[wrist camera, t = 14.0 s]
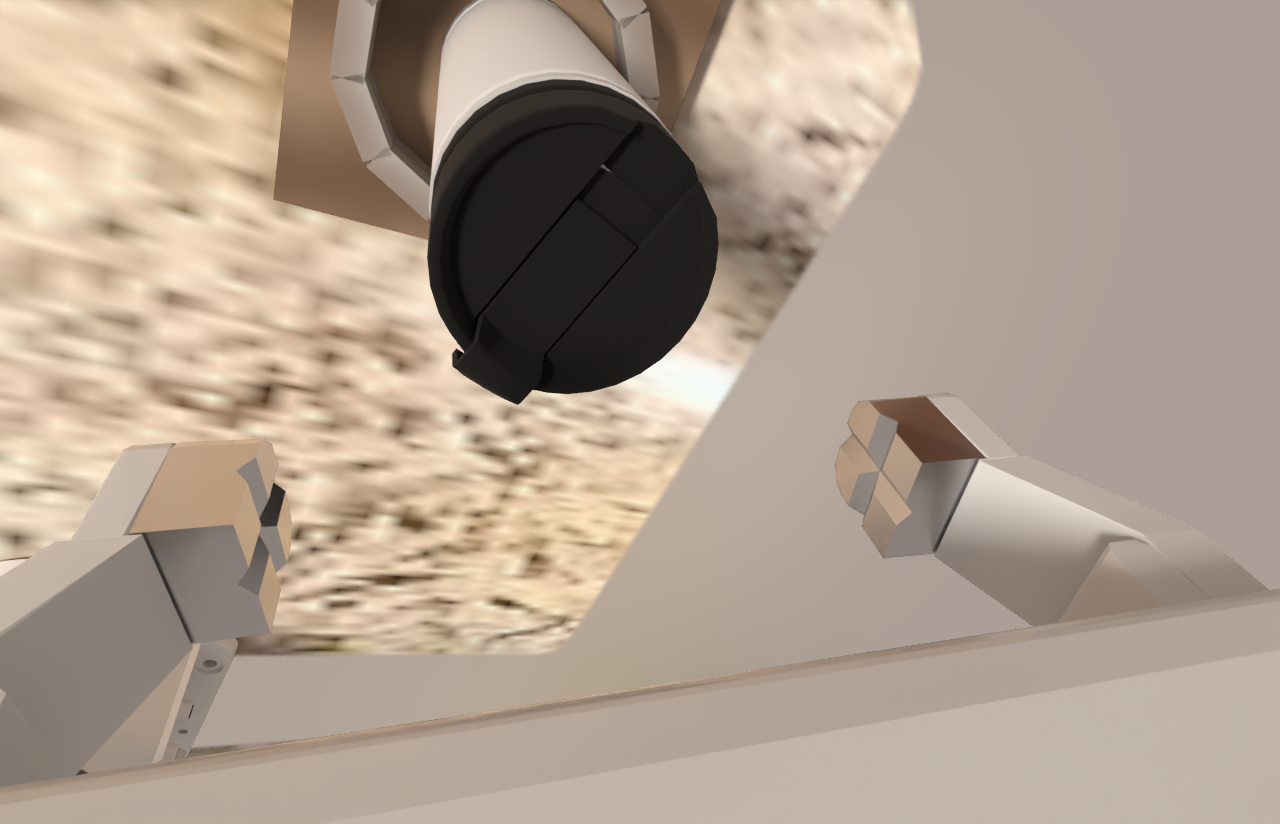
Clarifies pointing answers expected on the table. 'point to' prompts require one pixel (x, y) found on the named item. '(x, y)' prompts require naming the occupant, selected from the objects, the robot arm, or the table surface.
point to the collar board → (432, 93)
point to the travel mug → (557, 209)
